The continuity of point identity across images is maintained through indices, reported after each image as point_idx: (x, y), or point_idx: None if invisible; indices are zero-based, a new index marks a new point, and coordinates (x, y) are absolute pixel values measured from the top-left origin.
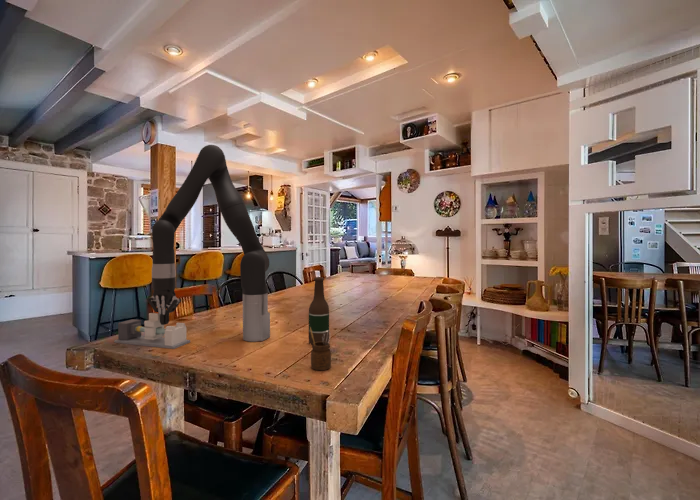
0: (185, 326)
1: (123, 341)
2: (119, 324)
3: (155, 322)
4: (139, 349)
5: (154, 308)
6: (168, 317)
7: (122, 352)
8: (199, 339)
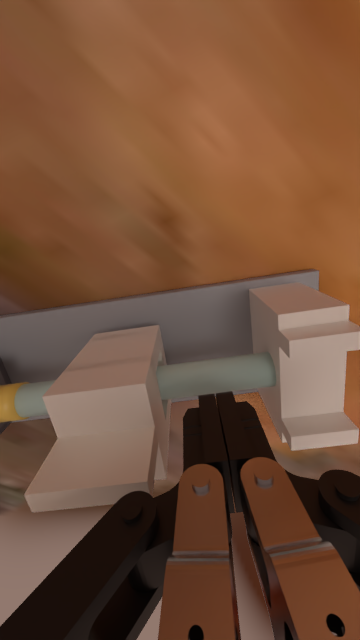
0: (348, 313)
1: (20, 420)
2: None
3: (164, 456)
4: (173, 434)
5: (128, 611)
6: (266, 443)
7: None
8: (326, 199)
